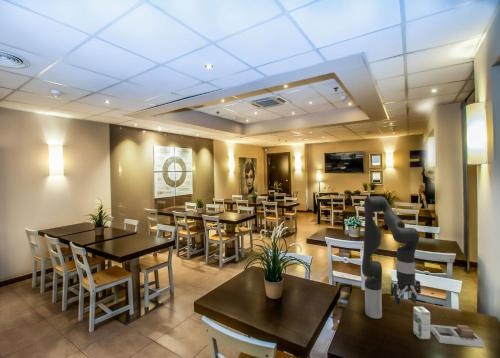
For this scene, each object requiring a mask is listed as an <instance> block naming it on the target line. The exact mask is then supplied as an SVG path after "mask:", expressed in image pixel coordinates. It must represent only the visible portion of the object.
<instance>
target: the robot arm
mask: <svg viewBox="0 0 500 358" xmlns="http://www.w3.org/2000/svg"><path fill="white" fill-rule="evenodd" d="M363 209H364V229H363V253H362V254H363V255H362V261H361V263H362V264H361V272H362V274H363V276H364V277H370V279H367V280H365V282H364V302H365V303H364V305H365V306H364V307H365V310H364V311H365V315H366V316H367V317H368V318H371V319H381V318H382V317H383V316H382V315H383V311H382V310H383V305H382V302H383V301H382V299H383V298H382V297H383V296H382V285H383V281H382V280H383V279H382V278H383V267H382V263H381V262H380V261H377V260H371V258H372V256H373V254H374V253H375V252H376V251H377V250H378V249H379V247H380V246H381V244H382V232H381V230H380V228H379V227H378V225H377V224H376V222H375V220H374V217H373V213H380V212H381V213H384V214H383V222H384V224H385V225H386V226H387V228H388V229H389V230H390V233H391V235H392V238H393V241H395V242H396V243H399V244H404V245H403V246H399V247H398V248H397V249H396V279H397V281H396V282H395V283H394V282H393V281H392V282H391V284H390V295H391V296H392V297H394V303H395V304H396V306H401V296H402V295H404V294H405V293H408V292H410V302H412V303H413V304H416V303H417V298H418V297H417V295H419V294H420V295H421V293H422V292H421V291H422V288H421V281H419V280H417V279H416V263H415V262H416V261H415V260H416V259H415V256H416V255H415V254H416V251H417V247H418V244H419V241H420V233H419V231H418V230H417V229H416V228H415V227H406V224H405V222H404V221H403V220H402V219H401V218H400V217H399V216H398V215H397V214H396V213H395V212H394V210H393V209H392V207H391V205H390V204H389V202H388V200H387V199H386V198H385V197H384V196H381V195H374V196H373V195H371V196H366V197H365V199H364V208H363Z"/></svg>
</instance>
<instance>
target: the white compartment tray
mask: <svg viewBox="0 0 500 358" xmlns="http://www.w3.org/2000/svg"><path fill="white" fill-rule="evenodd" d="M430 333H432V335H434V337H435V338H436V340H437V341H438V342H439V344H447V345H455V346H456V345H457V346H464V347H472V348H473V347H474V348H481V349H482V348H483V349H484V347H485V346H484V341H483V340H482V339H481V338H480V337H479V336H478V335H477V334H476V333H475V332H474V339H472V338H462V337H460V336H459V335H458V334H457V326H449V325H439V324H430ZM443 334H449V335H443Z"/></svg>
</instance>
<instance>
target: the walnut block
mask: <svg viewBox="0 0 500 358" xmlns="http://www.w3.org/2000/svg"><path fill="white" fill-rule="evenodd" d="M456 327H457V334H458V335H459V336H460V337H462V338H472V339H474V333H475V332H474V330H473V329H471V327H469V326H468V325H461V324H456Z"/></svg>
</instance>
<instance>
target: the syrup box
mask: <svg viewBox="0 0 500 358" xmlns="http://www.w3.org/2000/svg"><path fill="white" fill-rule="evenodd" d="M412 323H413V324H412V325H413V326H412V327H413V334H414V335H416V337H417V338H418V339H419V340H430V339H431V331H430V325H431V311H429V310H428V309H427V308H425V306H413V322H412Z"/></svg>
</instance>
